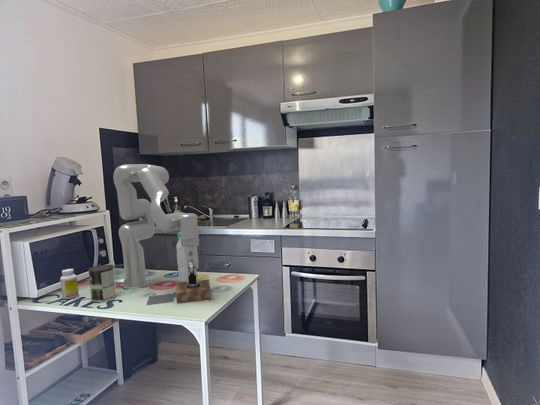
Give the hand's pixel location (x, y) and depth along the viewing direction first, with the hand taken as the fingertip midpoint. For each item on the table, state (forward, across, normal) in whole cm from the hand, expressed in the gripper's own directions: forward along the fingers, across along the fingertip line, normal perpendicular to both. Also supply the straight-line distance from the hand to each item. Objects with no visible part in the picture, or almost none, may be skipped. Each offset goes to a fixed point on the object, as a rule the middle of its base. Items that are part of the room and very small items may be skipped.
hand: (192, 280), depth 153 cm
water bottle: (+7, +26, +4) cm, 27 cm away
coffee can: (+7, +14, +40) cm, 43 cm away
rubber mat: (+7, +1, +14) cm, 16 cm away
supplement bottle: (+7, +21, +56) cm, 60 cm away
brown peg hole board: (+7, 0, 0) cm, 7 cm away
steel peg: (+7, 0, 0) cm, 7 cm away
